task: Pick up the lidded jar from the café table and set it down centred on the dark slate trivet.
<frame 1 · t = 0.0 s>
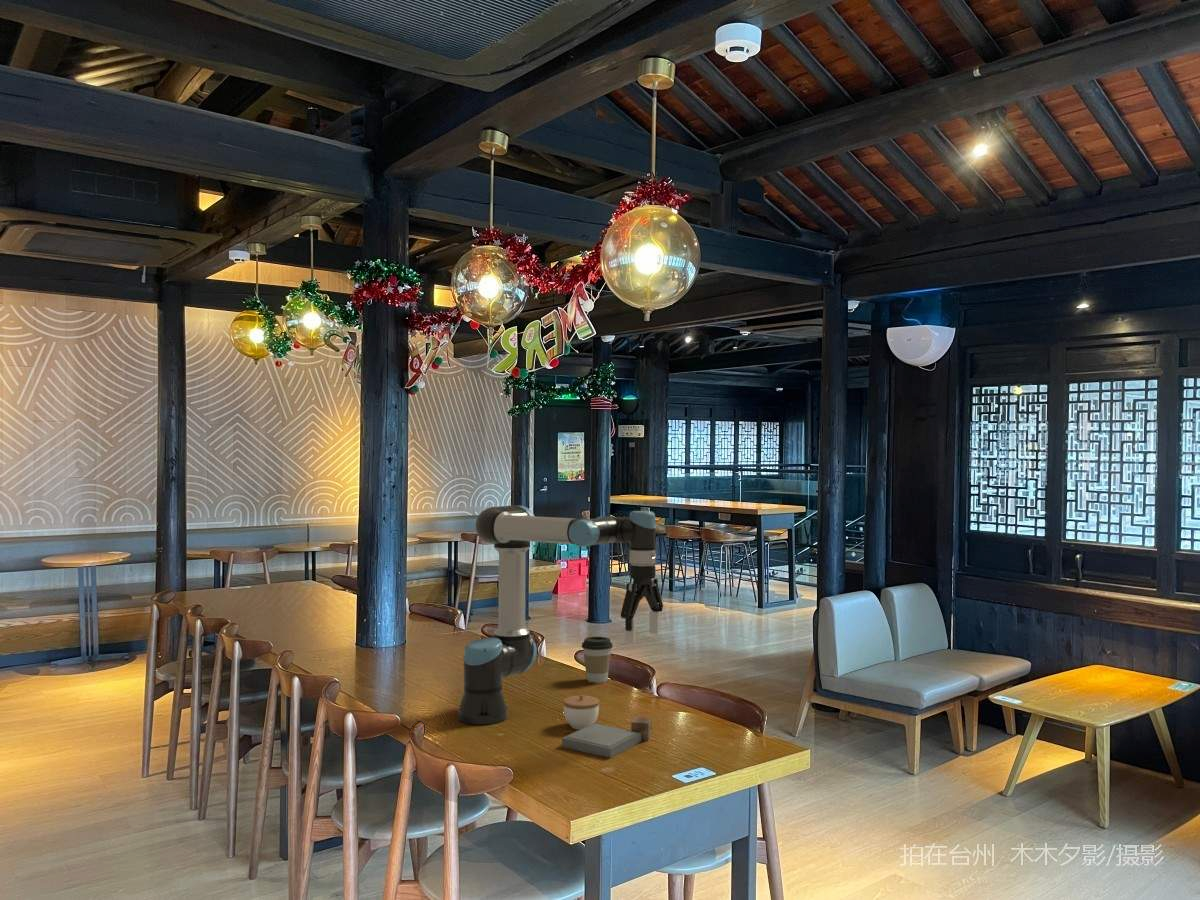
hand: (642, 637, 243), 28 cm above the table, fingers open, 13 cm apart
slate trivet: (602, 744, 235), on the table
coffee cup: (597, 681, 303), on the table
lidded jar: (581, 727, 251), on the table
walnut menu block: (641, 737, 241), on the table
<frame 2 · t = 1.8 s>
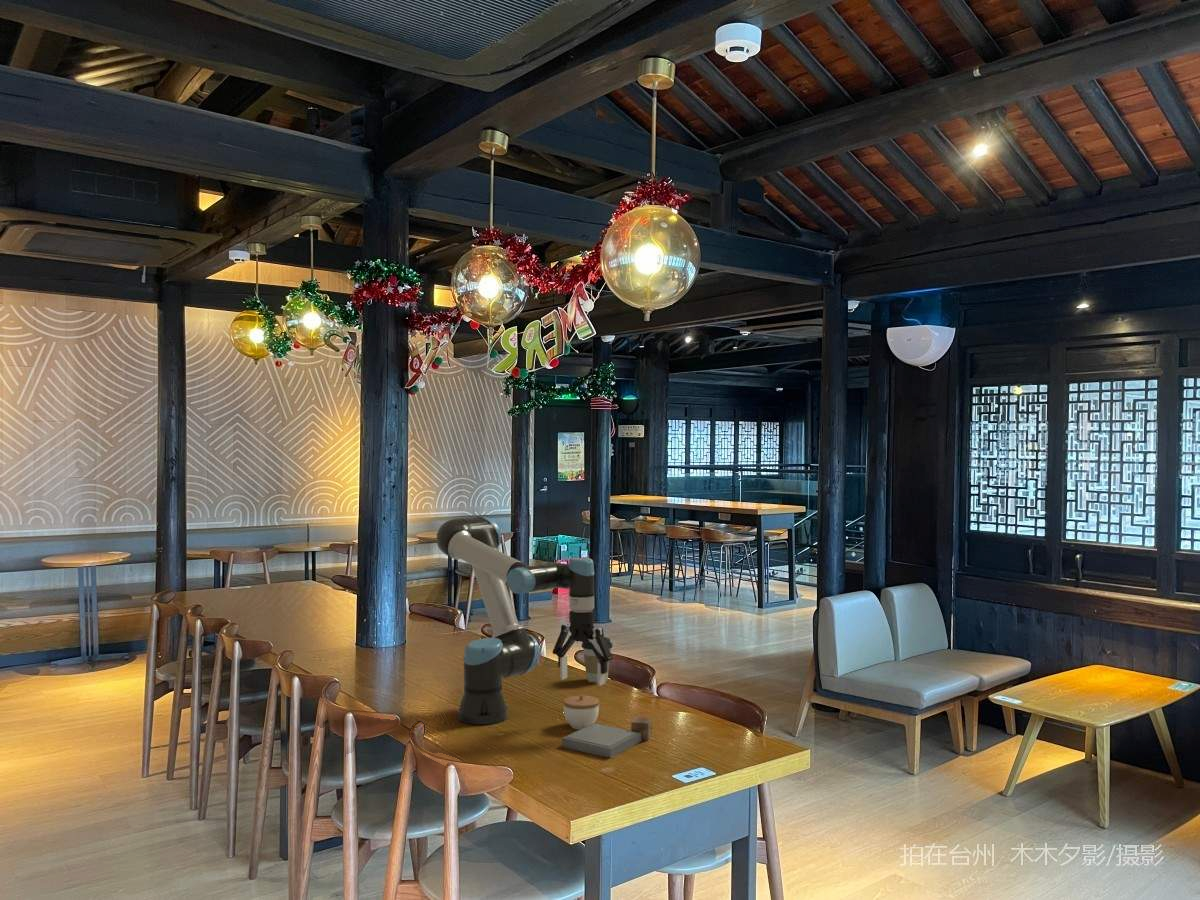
hand: (582, 681, 251), 13 cm above the table, fingers open, 13 cm apart
nothing on the table moved.
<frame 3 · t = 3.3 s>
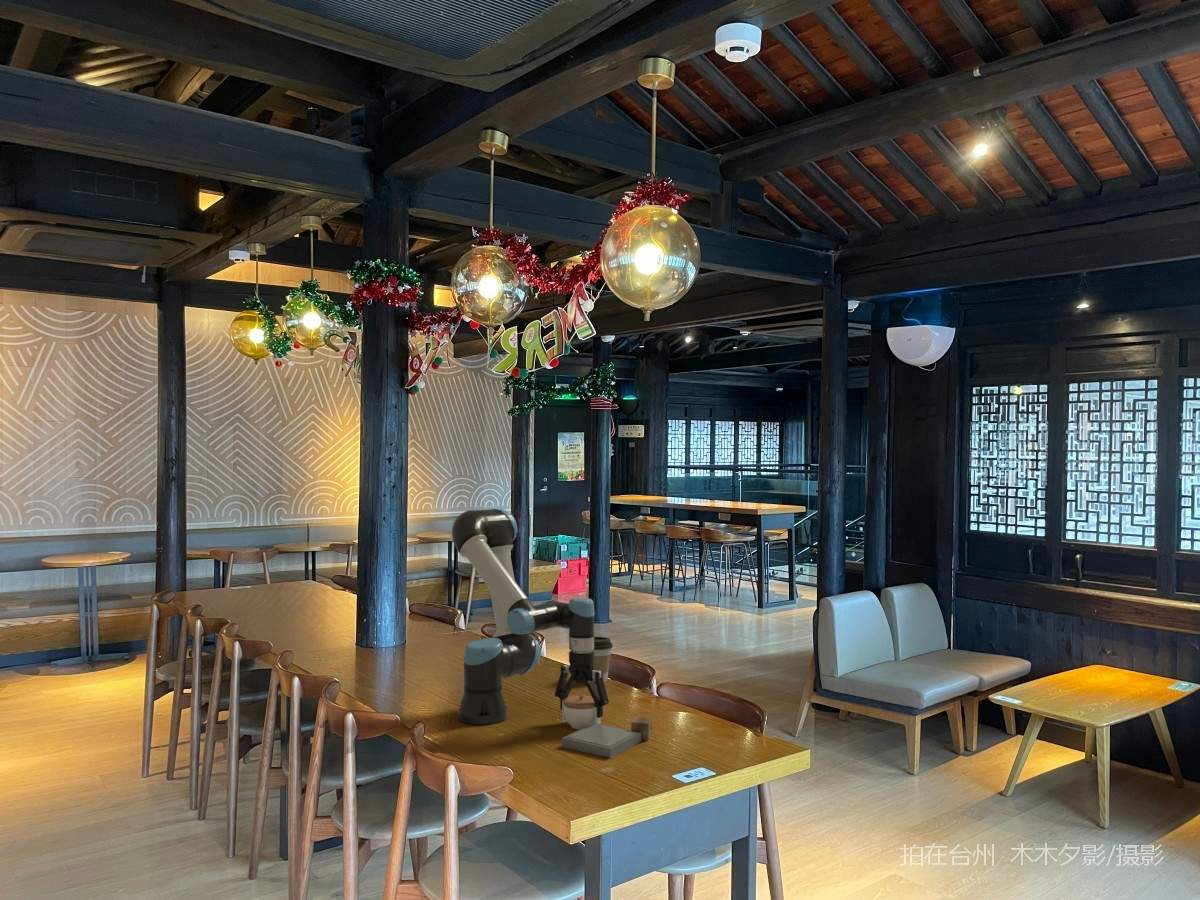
hand: (581, 724, 251), 0 cm above the table, fingers closed on lidded jar, 11 cm apart
lidded jar: (581, 726, 251), on the table, touching gripper
everything else where it was.
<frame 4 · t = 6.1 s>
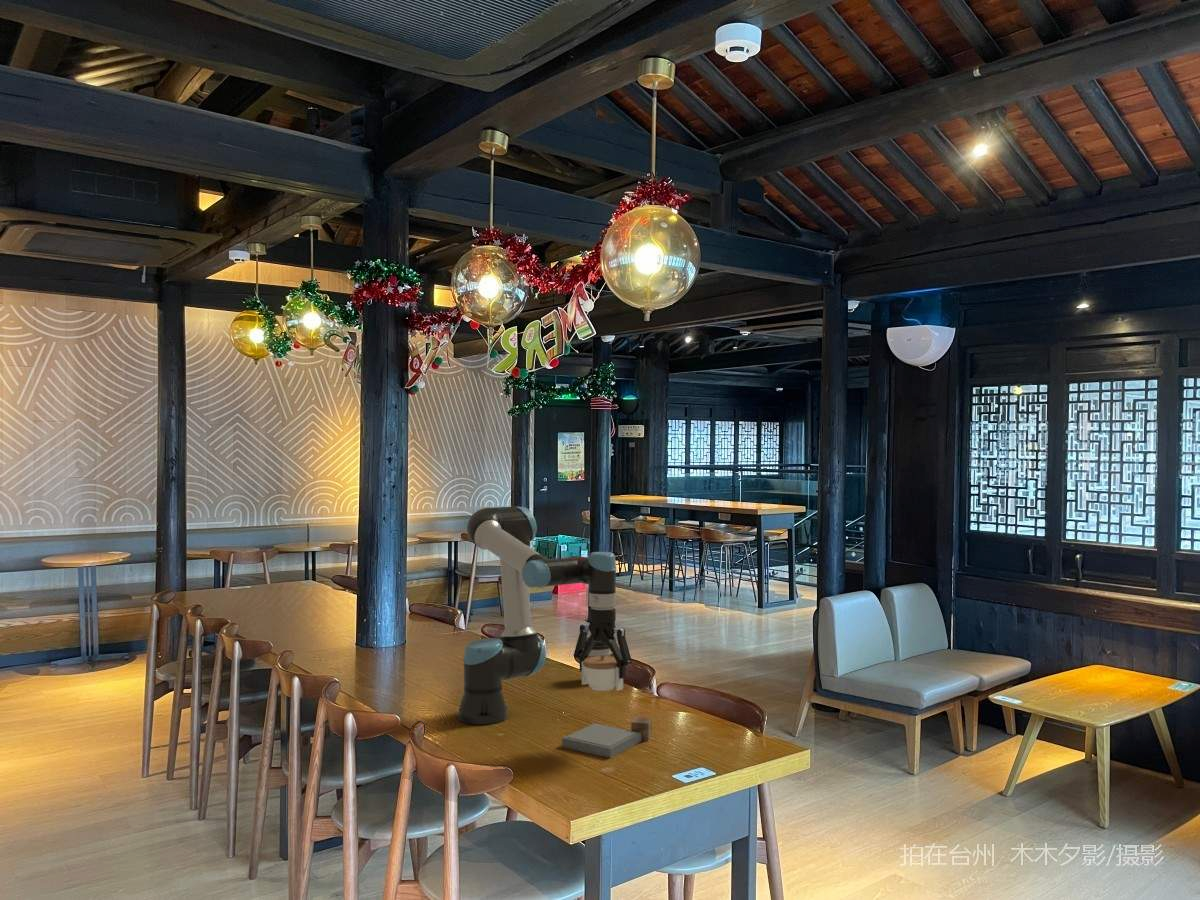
hand: (602, 686, 235), 16 cm above the table, fingers closed on lidded jar, 11 cm apart
lidded jar: (602, 689, 235), point 15 cm above the table, touching gripper
everything else where it was.
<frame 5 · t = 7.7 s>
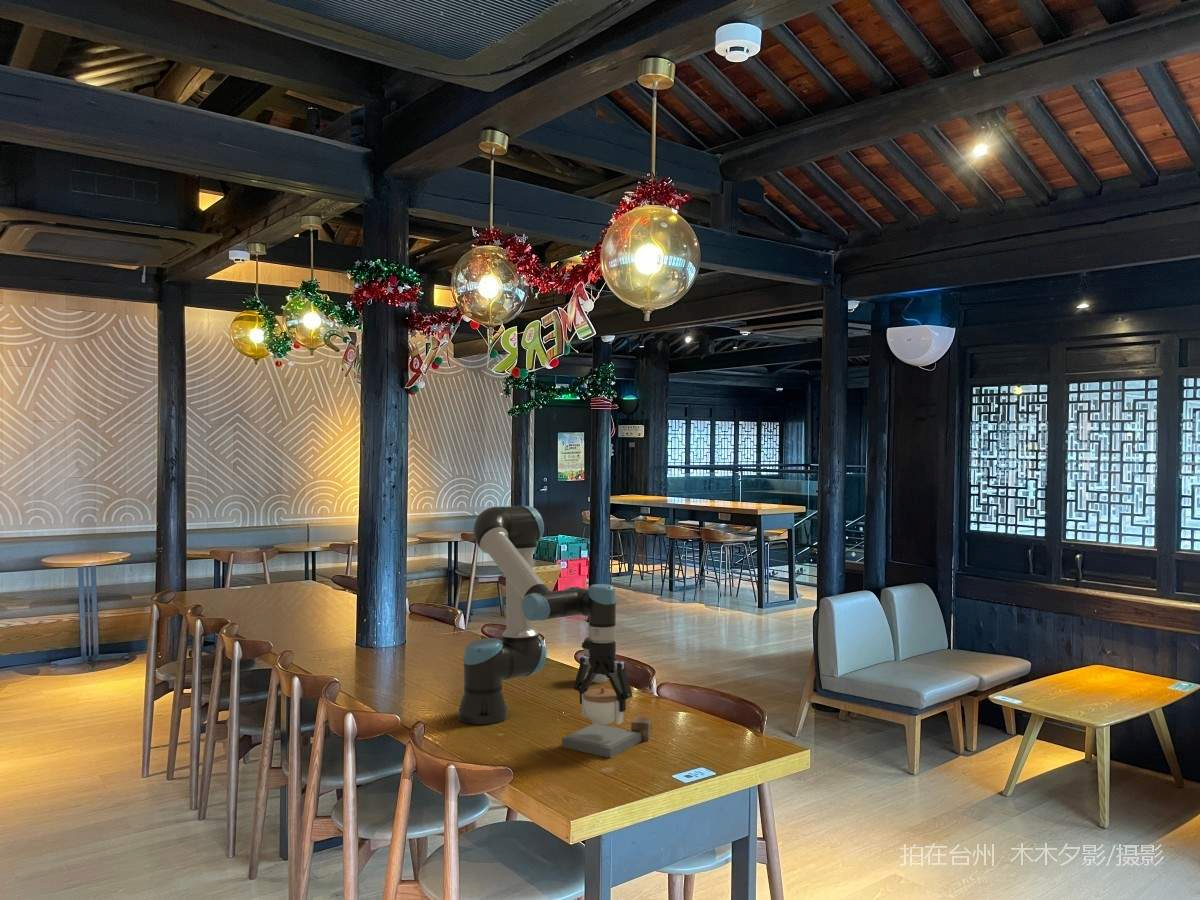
hand: (602, 719, 235), 7 cm above the table, fingers closed on lidded jar, 11 cm apart
lidded jar: (602, 722, 235), point 6 cm above the table, touching gripper
everything else where it was.
when the fingers open (4 cm above the table, at t = 8.8 s): lidded jar drops 1 cm, resting on slate trivet.
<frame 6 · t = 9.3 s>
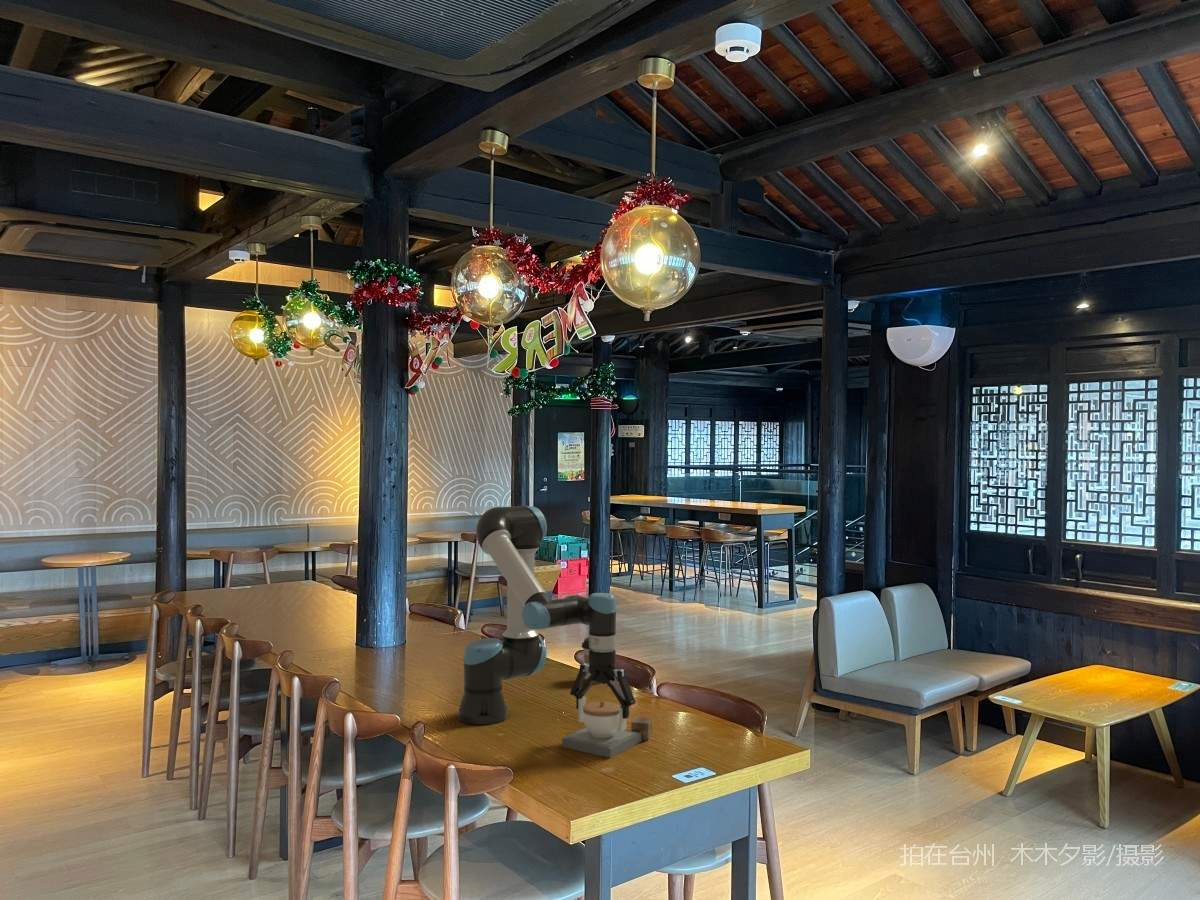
hand: (602, 725, 235), 5 cm above the table, fingers open, 13 cm apart
lidded jar: (602, 735, 235), point 2 cm above the table, touching slate trivet
everything else where it was.
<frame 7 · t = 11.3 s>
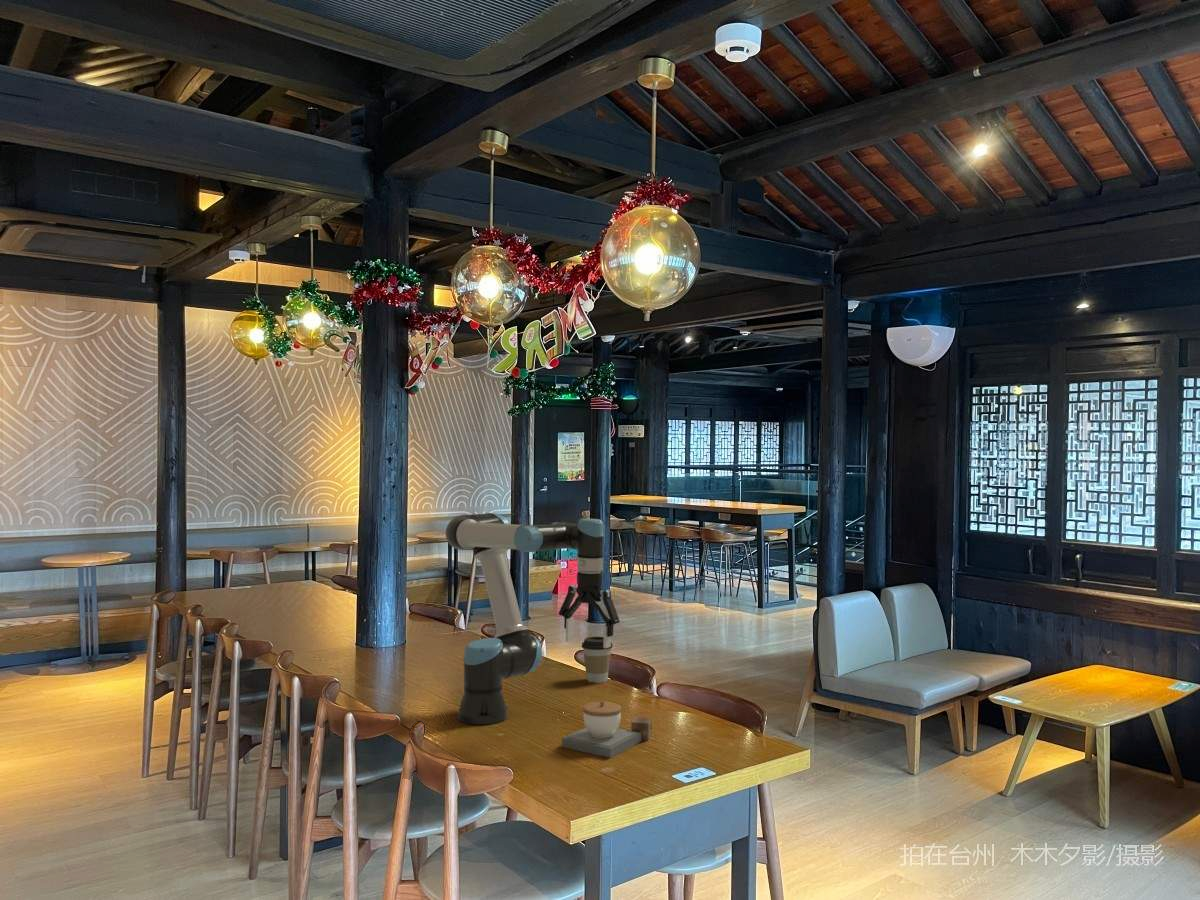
hand: (588, 643, 247), 25 cm above the table, fingers open, 13 cm apart
nothing on the table moved.
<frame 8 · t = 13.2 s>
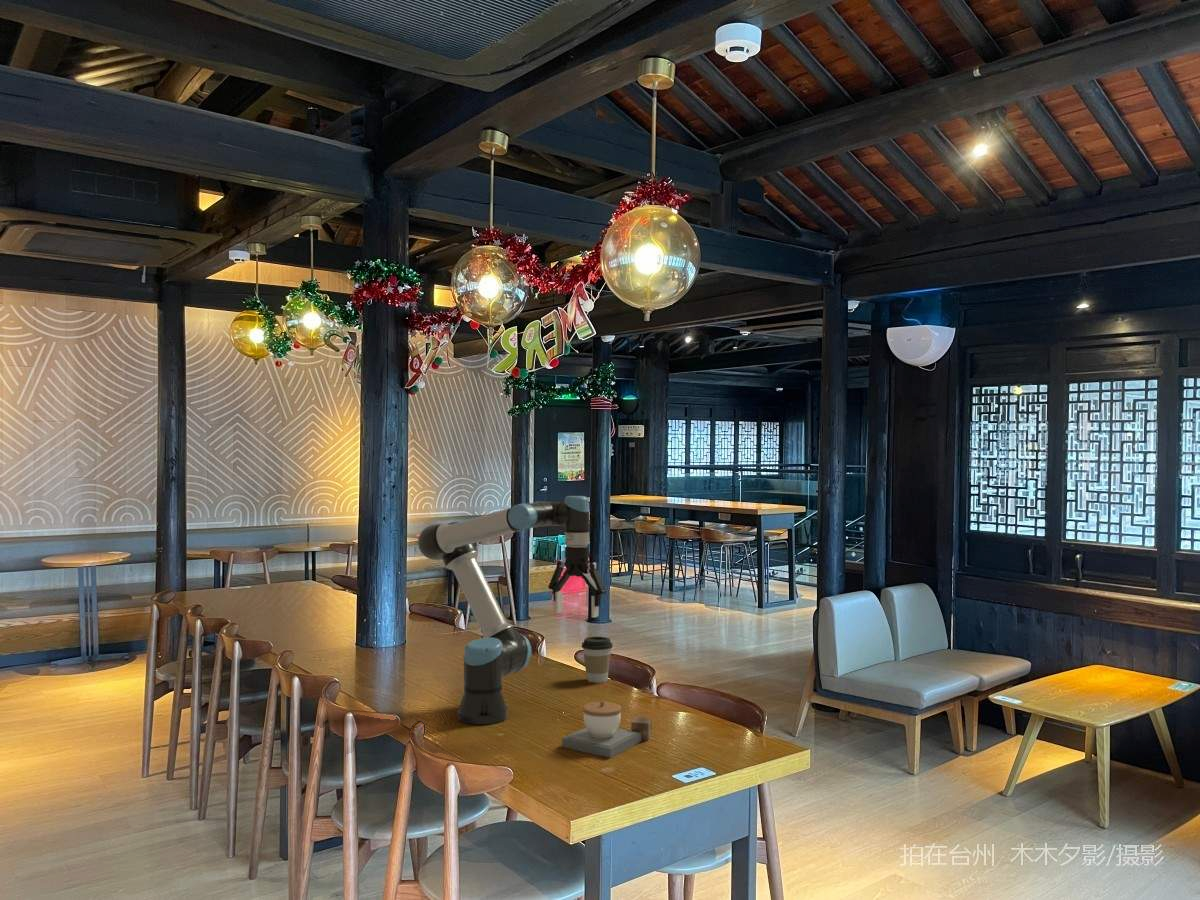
hand: (576, 614, 260), 32 cm above the table, fingers open, 13 cm apart
nothing on the table moved.
at the end: lidded jar inside the target area on the slate trivet (0.1 cm from its centre), point 2.4 cm above the slate trivet's base; lidded jar tilted 0°; the gripper is holding nothing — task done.
